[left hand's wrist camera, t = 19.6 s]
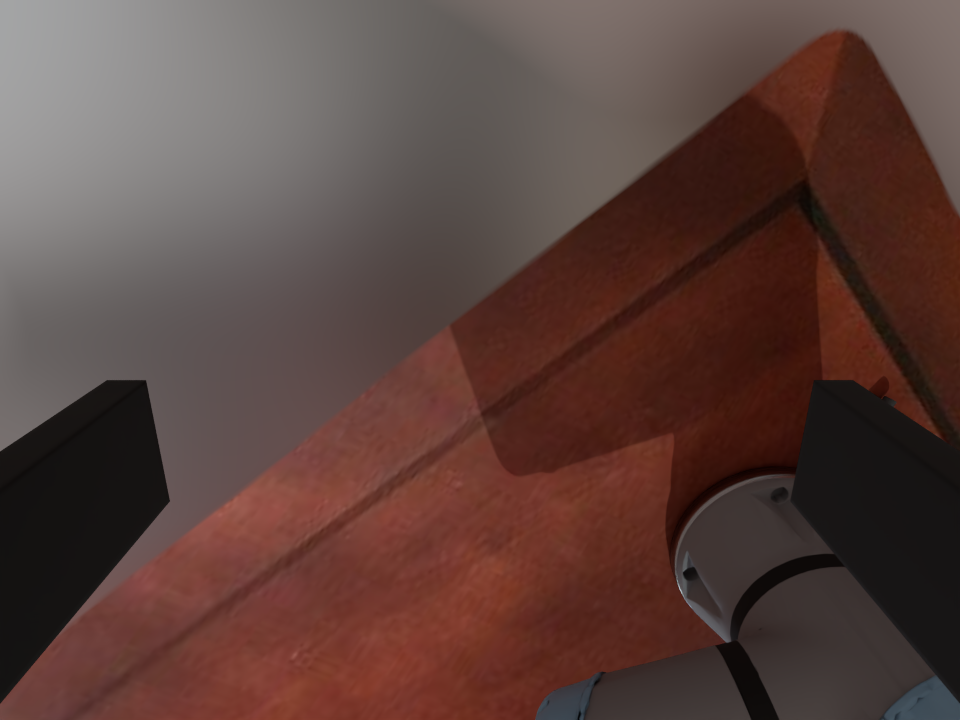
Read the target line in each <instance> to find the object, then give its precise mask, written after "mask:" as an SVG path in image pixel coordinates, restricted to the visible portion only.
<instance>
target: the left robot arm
mask: <svg viewBox="0 0 960 720" xmlns="http://www.w3.org/2000/svg"><path fill="white" fill-rule="evenodd" d="M895 404H896V401H894V400H892V399H890V398H888V397H886V396H884V397H883V399H880V398H879V397H877V396H876V395H874V394H873V393H871V392H870V391H868V390H867V389H865V388H864V387H862V386H861V385H859V384H858V383H856V382H855V381H853V380H814V383H813V388H812V393H811V398H810V403H809V408H808V413H807V418H806V424H805V429H804V434H803V439H802V444H801V449H800V454H799V459H798V464H797V469H795V468H788V467H765V468H758V469H753V470H749V471H745V472H742V473H739V474H736V475H733V476H731V477H729V478H727V479H725V480H722V481H720V482H719V483H717V484H715V485H714V486H712V487H711V488H709V489H708V490H707V491H705V492H704V493H703V494H702V495H700V496H699V497H698V498H697V499H696V500H695V501H694V502H693V503H692V504H691V505H690V507H689V508H688V509H687V510H686V512H685V513H684V515H683V516H682V518H681V519H680V521H679V523H678V525H677V527H676V530H675V532H674V535H673V539H672V543H671V551H670V560H671V567H672V571H673V574H674V577H675V580H676V582H677V584H678V586H679V589H680V591H681V593H682V595H683V597H684V599H685V600H686V602H687V603H688V604H689V606H690V607H691V608H692V609H693V610H694V612H695V613H696V614H697V615H698V616H699V617H700V618H701V619H702V620H704V621H705V622H706V623H707V624H708V625H709V626H710V627H711V628H712V629H713V630H714V631H715V632H716V633H717V634H718V635H719V636H720V637H721V638H722V639H724V640H725V641H726V642H727V643H724V644H720V645H715V646H711V647H707V648H703V649H699V650H696V651H692V652H688V653H684V654H680V655H677V656H673V657H669V658H665V659H662V660H658V661H654V662H650V663H646V664H642V665H638V666H633V667H629V668H625V669H621V670H617V671H613V672H609V673H606V672H598V673H596V674H595V675H593V676H592V677H591V678H590V679H587V680H584V681H581V682H578V683H575V684H572V685H569V686H565V687H562V688H559V689H557V690H554V691H553V692H551V693H550V694H549V695H548V696H547V697H546V698H545V699H544V700H543V702H542V703H541V705H540V707H539V709H538V712H537V716H536V720H960V451H958V450H957V449H955V448H954V447H952V446H951V445H949V444H948V443H946V442H945V441H943V440H942V439H940V438H939V437H937V436H936V435H934V434H933V433H931V432H930V431H928V430H927V429H925V428H924V427H922V426H921V425H919V424H918V423H916V422H915V421H913V420H912V419H910V418H909V417H907V416H906V415H904V414H903V413H901V412H900V411H898V410H897V409H895V408H894V405H895ZM169 502H170V500H169V495H168V489H167V484H166V479H165V474H164V469H163V464H162V459H161V454H160V449H159V444H158V439H157V434H156V429H155V424H154V419H153V414H152V408H151V403H150V398H149V393H148V388H147V383H146V380H107V381H105V382H104V383H102V384H101V385H99V386H98V387H96V388H95V389H93V390H92V391H90V392H89V393H87V394H86V395H84V396H83V397H81V398H80V399H78V400H77V401H75V402H74V403H72V404H71V405H69V406H68V407H66V408H65V409H63V410H62V411H60V412H59V413H57V414H56V415H54V416H53V417H51V418H50V419H48V420H47V421H45V422H44V423H42V424H41V425H39V426H38V427H36V428H35V429H33V430H32V431H30V432H29V433H27V434H26V435H24V436H23V437H21V438H20V439H18V440H17V441H15V442H14V443H12V444H11V445H9V446H8V447H6V448H5V449H3V450H2V451H0V703H1V702H2V701H3V700H4V698H5V697H6V696H7V695H8V694H9V693H10V691H11V690H12V689H13V688H14V687H15V685H16V684H17V683H18V682H19V681H20V679H21V678H22V677H23V676H24V675H25V673H26V672H27V671H28V670H29V669H30V667H31V666H32V665H33V664H34V663H35V661H36V660H37V659H38V658H39V657H40V656H41V654H42V653H43V652H44V651H45V650H46V648H47V647H48V646H49V645H50V644H51V642H52V641H53V640H54V639H55V638H56V636H57V635H58V634H59V633H60V632H61V630H62V629H63V628H64V627H65V626H66V624H67V623H68V622H69V621H70V620H71V618H72V617H73V616H74V615H75V614H76V613H77V611H78V610H79V609H80V608H81V607H82V605H83V604H84V603H85V602H86V601H87V599H88V598H89V597H90V596H91V595H92V593H93V592H94V591H95V590H96V589H97V588H98V586H99V585H100V584H101V583H102V582H103V580H104V579H105V578H106V577H107V576H108V574H109V573H110V572H111V571H112V570H113V568H114V567H115V566H116V565H117V564H118V562H119V561H120V560H121V559H122V558H123V556H124V555H125V554H126V553H127V552H128V550H129V549H130V548H131V547H132V546H133V545H134V543H135V542H136V541H137V540H138V539H139V537H140V536H141V535H142V534H143V533H144V531H145V530H146V529H147V528H148V527H149V526H150V524H151V523H152V522H153V521H154V520H155V518H156V517H157V516H158V515H159V513H160V512H161V511H162V510H163V509H164V508H165V506H166V505H167V504H168V503H169Z"/></svg>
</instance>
